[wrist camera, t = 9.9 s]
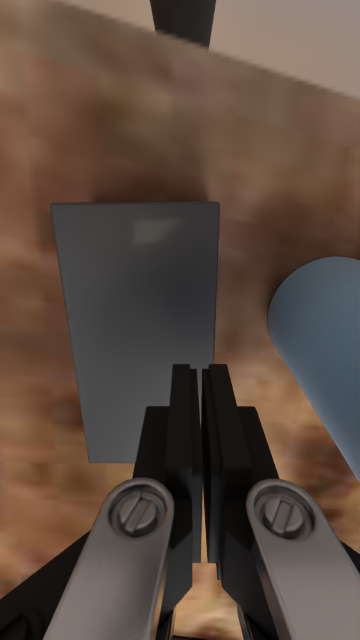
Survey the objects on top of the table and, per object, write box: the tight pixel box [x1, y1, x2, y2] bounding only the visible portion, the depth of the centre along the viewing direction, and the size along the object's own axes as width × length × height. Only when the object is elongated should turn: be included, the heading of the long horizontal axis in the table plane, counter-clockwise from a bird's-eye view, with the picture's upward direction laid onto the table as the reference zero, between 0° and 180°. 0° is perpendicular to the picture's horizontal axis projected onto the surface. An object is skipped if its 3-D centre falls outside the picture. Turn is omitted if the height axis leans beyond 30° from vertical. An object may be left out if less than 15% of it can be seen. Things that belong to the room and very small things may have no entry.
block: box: [50, 201, 220, 463], centre depth 15 cm, size 12×6×5 cm, turn 0°
